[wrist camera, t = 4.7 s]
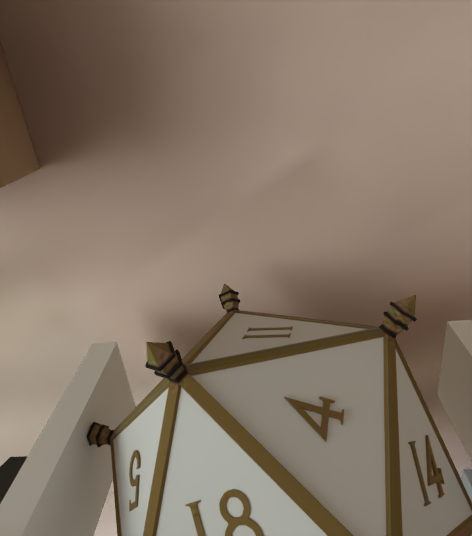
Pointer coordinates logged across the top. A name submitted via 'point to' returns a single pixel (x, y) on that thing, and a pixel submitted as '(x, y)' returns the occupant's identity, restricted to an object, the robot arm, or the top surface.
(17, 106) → the walnut cube
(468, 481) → the slate grey cube
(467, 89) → the top surface
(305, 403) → the game die
